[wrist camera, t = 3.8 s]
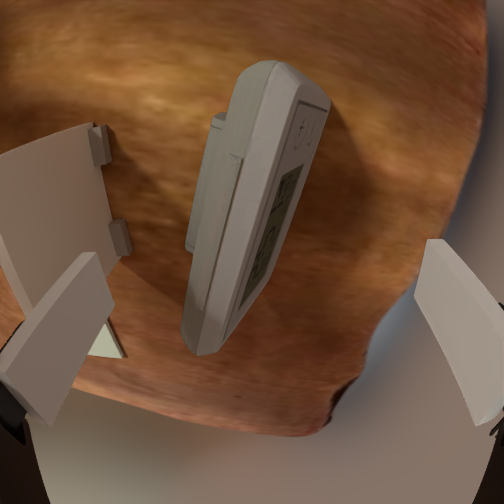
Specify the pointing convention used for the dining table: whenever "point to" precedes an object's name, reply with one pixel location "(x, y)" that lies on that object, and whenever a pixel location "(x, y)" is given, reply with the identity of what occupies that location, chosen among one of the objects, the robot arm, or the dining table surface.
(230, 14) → the dining table surface
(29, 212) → the screen
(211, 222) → the digital clock
